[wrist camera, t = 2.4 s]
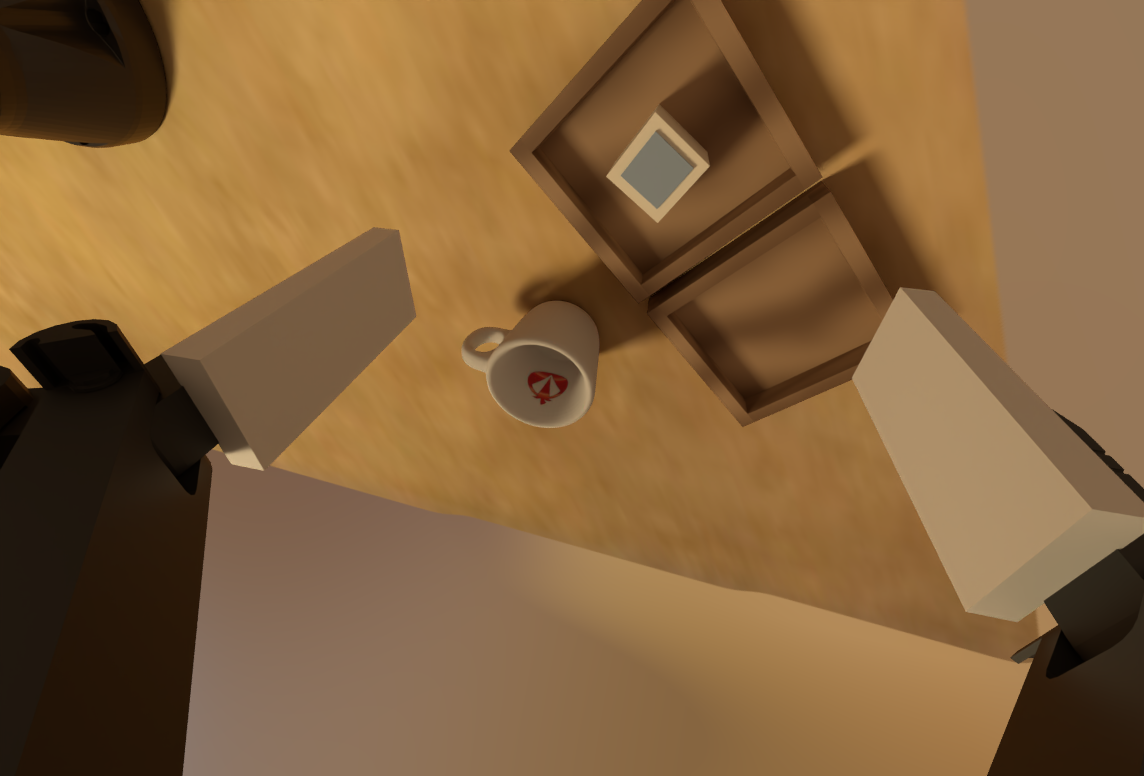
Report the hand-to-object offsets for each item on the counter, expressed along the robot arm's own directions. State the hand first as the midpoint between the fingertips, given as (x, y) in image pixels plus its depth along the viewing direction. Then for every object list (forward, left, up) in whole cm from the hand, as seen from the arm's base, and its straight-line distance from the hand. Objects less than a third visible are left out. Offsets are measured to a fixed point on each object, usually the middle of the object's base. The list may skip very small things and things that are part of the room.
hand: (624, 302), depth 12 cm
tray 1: (0, 0, -21) cm, 21 cm away
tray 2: (+14, 0, -21) cm, 25 cm away
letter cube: (0, 0, -20) cm, 20 cm away
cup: (+5, -15, -21) cm, 26 cm away
